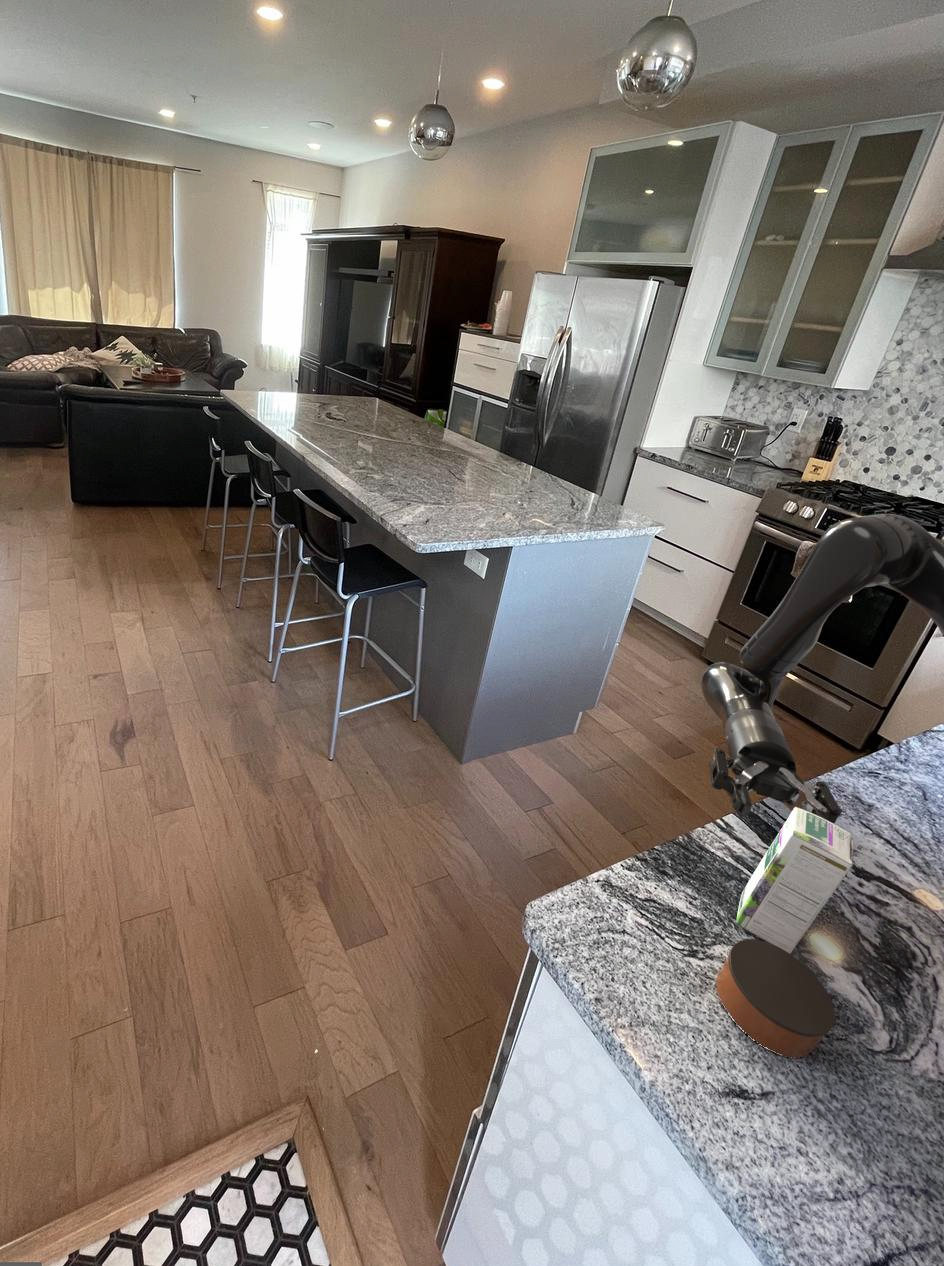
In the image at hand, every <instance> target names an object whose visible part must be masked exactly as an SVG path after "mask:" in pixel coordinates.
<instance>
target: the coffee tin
mask: <svg viewBox="0 0 944 1266" xmlns="http://www.w3.org/2000/svg"><path fill="white" fill-rule="evenodd" d="M716 986H717V987H716ZM715 988H717V989H716V993H717V992H718V993H717V995H718V994H719V997H720V999H721V1001H722V1003H723V1005H724V1006H725V1008H726V1009H727V1010H728V1012H729V1013H730V1015H731V1016H732V1018H733V1019H734V1020H735V1022H736V1023H737V1025H739V1026H740V1027H741V1028H742V1030H744V1032H746V1034H748V1035H749V1036H750V1037H751V1038H752V1039H754V1040H755V1041H756V1042H758V1043H759V1044H761V1045H762V1046H764V1047H767V1048H768V1049H770V1050H773V1051H775V1052H776V1053H779V1054H782V1055H783V1056H787V1057H792V1058H791V1059H801V1058H800V1057H802V1058H805V1057H807V1056H809V1055H811V1053H812V1052H813V1051H814V1049H815V1048H816V1047H817V1045H819V1043H820V1041H822V1039H823V1038H824V1036H825V1035H827V1034H828V1033H829V1032H830V1031H831V1030H832V1028H833V1027H834V1025H835V1022H836V1012H835V1011H836V1010H835V1007H834V1003H833V1001H832V998H831V996H830V994H829V992H828V991H827V989H826V988H825V986H824V985H823V983H822V982H821V980H820V979H819V978H818V977H817V976H816V975H815V973H813V971H811V970H810V968H808V967H807V966H806V964H804V963H803V962H802V961H800V960H799V958H797V957H795V956H794V955H793V954H792V953H791V954H790V953H788V952H786V951H785V950H783V949H781V948H779V947H777V946H775V945H773V944H771V943H769V942H767V941H765V940H760V939H755V938H750V939H749V938H748V939H742V940H739V941H738V942H736V943H735V944H734V945H733V946H732V947H731V949H730V951H729V954H728V956H727V958H726V959H725V961H724V962H723V964H722V966H721V968H720V969H719V971H718V973H717V975H716V979H715ZM719 997H718V998H719ZM720 999H719V1000H720ZM783 1056H782V1057H783ZM794 1057H795V1058H794Z"/></svg>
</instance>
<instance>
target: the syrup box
mask: <svg viewBox="0 0 944 1266" xmlns="http://www.w3.org/2000/svg"><path fill="white" fill-rule="evenodd" d="M808 811H809V810H808ZM808 811H805V810H803V809H800V808H797V807H795V808H794V809H793V811H791V812H790V814H789V816H788V818H787V819H786V821H785V822H784V824H783V826H781V829H780V830H779V832H778V834H777V835H776V837H774V839H773V841H772V843H771V844H770V846H769V848H768V849H767V851H766V852H765V854H764V855H763V857H762V859H761V860H760V862H759V863H758V865H757V867H756V869H755V870H754V872H753V873H752V875H751V876H750V878H749V880H748V882H747V884H746V885H745V887H744V888H743V890H742V892H741V895H740V899H739V904H738V909H737V915H736V920H735V923H736V925H738V926H739V927H741V928H742V929H744V930H746V931H748V932H749V933H752V934H753V935H755V936H756V937H758V938H760V939H761V940H762V941H765V942H767V943H770V944H773V945H775V946H777V947H779V948H781V949H783V950H785V951H786V952H788V953H790V954H791V955H792V952H793V951H794V950H795V948H796V947H797V946H798V944H799V943H800V941H801V940H802V939H803V937H804V936H805V934H806V933H807V931H808V930H809V929H810V927H811V926H812V924H813V923H814V921H815V920H816V918H817V917H818V915H819V914H820V913H821V911H822V910H823V908H824V907H825V906H826V904H827V903H828V901H829V900H830V899H831V897H832V896H833V894H834V893H835V891H836V890H837V889H838V887H839V886H840V884H841V882H842V881H843V880H844V878H845V877H846V875H847V874H848V873H849V871H850V869H851V868H852V867H853V851H854V847H853V834H851V833H850V832H849V831H847V830H845V829H844V828H841V827H840V826H838V825H837V824H835V823H834V824H833V823H831V822H829V821H827V820H825V819H823V818H821V817H819V816H817V815H815V814H812V813H810V812H811V811H810V812H808Z"/></svg>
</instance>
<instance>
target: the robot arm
mask: <svg viewBox="0 0 944 1266" xmlns="http://www.w3.org/2000/svg"><path fill="white" fill-rule="evenodd" d="M882 585H886V586H889V587H890V588H891V589H894V590H895V591H896V592H898V593H899V594H901V596H904V597H905V598H907V599H908V600H909V601H910V602H911V603H913V604H914V605H916V606H917V607H918V609H920V610H922V611H923V612H924V613H925V614H926V615H927V616H928V617H929V618H930V620H932V621H933V622H934V624H935V625H936V626H937V628H938V629H939V631H940V633H941V634H942V636H943V637H944V544H942V543H941V542H940V541H939V540H938V539H937V538H936V537H934V535H932V534H931V533H930V532H929V531H927V530H926V529H925V528H924V527H923V526H922V525H920V524H919V523H917V522H916V521H915V520H913V519H910V518H909V517H906V516H903V515H899V514H894V513H877V514H869V515H863V516H856V517H851V518H845V519H843V520H841V521H837V522H835V523H834V524H832V525H831V526H830V527H828V528H827V529H826V530H825V531H824V532H823V534H822V535H821V537H820V538H819V539H818V541H817V543H816V544H815V546H814V547H813V548H812V550H811V552H810V554H809V555H808V558H807V559H806V561H805V562H804V565H803V566H802V568H801V570H800V572H799V573H798V575H797V576H796V578H795V580H794V581H793V583H792V584H791V586H790V588H789V589H788V591H787V593H786V594H785V595H784V597H783V598H782V600H781V602H780V603H779V604H778V606H777V607H776V608H775V610H773V612H772V614H771V615H770V616H769V617H768V618H767V619H766V621H765V622H764V623H763V624H762V625H761V626H760V627H759V629H757V631H756V632H755V633H754V634H753V635H752V637H751V638H750V639H749V640H748V641H747V642H746V643H745V644H744V645H743V647H742V648H741V650H740V652H739V661H740V663H741V665H742V667H740V666H737V665H735V664H733V663H729V662H726V661H719V662H715V663H713V664H710V666H708V667H707V668H706V669H705V670H704V672H703V674H702V676H701V681H700V687H701V693H702V696H703V698H704V700H705V702H706V703H707V705H708V706H709V707H710V709H711V710H712V711H713V712H714V714H715V715H716V716H717V717H718V718H719V719H720V720H721V723H722V726H723V731H724V741H725V745H726V749H727V751H728V752H727V753H728V756H729V757H728V756H726V755H727V754H726V752H725V751H724V749H721V748H716V749H715V750H714V752H713V754H712V756H711V759H710V760H709V762H708V766H709V772H710V773H709V774H710V782H711V787H712V788H713V789H715V790H718V791H721V790H724V791H726V794H727V795H728V796H729V797H730V801H731V802H730V803H731V805H732V808H733V809H734V811H736V812H737V814H738V816H739V817H742V818H744V819H746V818H747V817H748V815H749V813H750V812H751V810H752V807H753V804H752V800H751V797H750V793H751V792H755V793H756V795H759V796H761V797H767V798H770V799H772V800H774V801H777V802H780V803H782V804H783V805H784V806H785V807H786V808H787V809H788V810H789V811H791V812H792V811H793V809H794V808H795V807H797V808H800V809H803V810H805V811H808V812H810V813H812V814H815V815H817V816H819V817H821V818H823V819H825V820H827V821H829V822H831V823H833V824H835V823H836V821H837V820H838V819H839V817H840V816H841V814H842V810H841V808H840V805H838V803H837V801H836V799H835V797H834V795H833V793H832V791H831V790H830V787H829V786H828V784H826V782H823V781H820V780H817V781H816V783H815V784H811V783H808V782H806V781H804V779H803V778H802V777H801V776H800V775H799V774H798V773H797V766H796V765H797V764H796V760H795V757H794V756H793V755H794V754H793V753H792V749H791V748H790V746H789V744H788V741H787V739H786V736H785V733H784V731H783V730H782V728H781V727H780V725H779V724H778V722H777V720H776V718H775V715H774V712H773V711H772V706H773V704H774V702H775V699H776V696H777V694H778V693H779V692H778V691H779V690H780V688H781V686H782V683H784V680H785V678H786V677H787V676H788V674H789V673H790V672H791V671H792V670H793V669H794V668H795V667H797V665H799V664H800V663H801V662H802V660H803V659H805V658H806V656H807V655H808V654H809V653H810V652H811V651H812V650H813V648H814V646H815V645H816V643H817V642H818V640H819V637H820V635H821V632H822V629H823V626H824V624H825V622H826V621H827V619H828V617H829V616H830V615H831V614H832V612H834V610H835V609H836V608H838V607H839V606H840V605H841V604H842V603H844V602H845V601H846V600H848V599H849V598H850V597H852V596H853V595H855V594H856V593H858V592H859V591H861V590H862V589H864V588H871V587H876V586H882ZM729 769H731V772H732V773H733V774H734V775H735V777H734V778H733V777H732V776H729V775H730V774H729ZM794 797H797V798H796V800H795V802H794V801H793V800H792V799H793V798H794ZM808 805H809V806H810V807H811V808H812V810H811V811H810V810H809V809H807V806H808Z"/></svg>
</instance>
